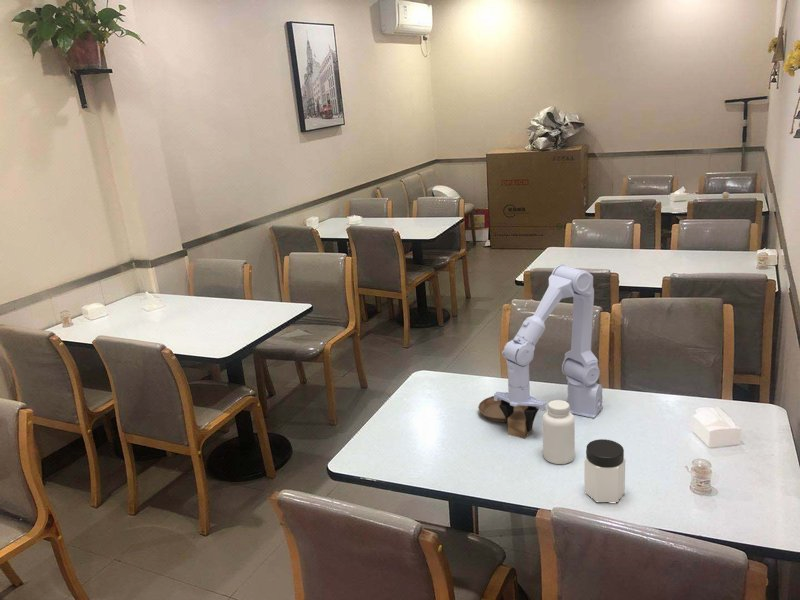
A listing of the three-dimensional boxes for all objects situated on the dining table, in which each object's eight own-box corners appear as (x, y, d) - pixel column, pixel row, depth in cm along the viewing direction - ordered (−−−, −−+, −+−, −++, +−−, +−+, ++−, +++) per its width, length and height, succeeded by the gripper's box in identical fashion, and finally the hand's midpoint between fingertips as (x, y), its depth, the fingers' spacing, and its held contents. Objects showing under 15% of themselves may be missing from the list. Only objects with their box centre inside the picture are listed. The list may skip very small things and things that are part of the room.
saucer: (472, 422, 184) (472, 414, 183) (486, 400, 197) (486, 392, 196) (522, 429, 178) (522, 420, 177) (533, 405, 191) (533, 397, 190)
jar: (595, 478, 153) (595, 434, 149) (628, 489, 147) (630, 444, 144) (579, 497, 146) (579, 451, 143) (613, 509, 141) (614, 462, 137)
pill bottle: (575, 450, 165) (575, 398, 161) (573, 466, 158) (573, 413, 154) (544, 447, 168) (544, 396, 163) (541, 463, 161) (540, 410, 156)
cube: (532, 430, 177) (531, 414, 175) (524, 438, 173) (524, 422, 171) (515, 426, 180) (515, 410, 178) (508, 434, 176) (507, 418, 174)
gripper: (488, 384, 173) (490, 428, 177) (537, 394, 165) (538, 440, 169) (499, 374, 178) (501, 417, 182) (548, 383, 170) (549, 428, 174)
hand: (520, 427), depth 176 cm, fingers closed on cube, 5 cm apart
